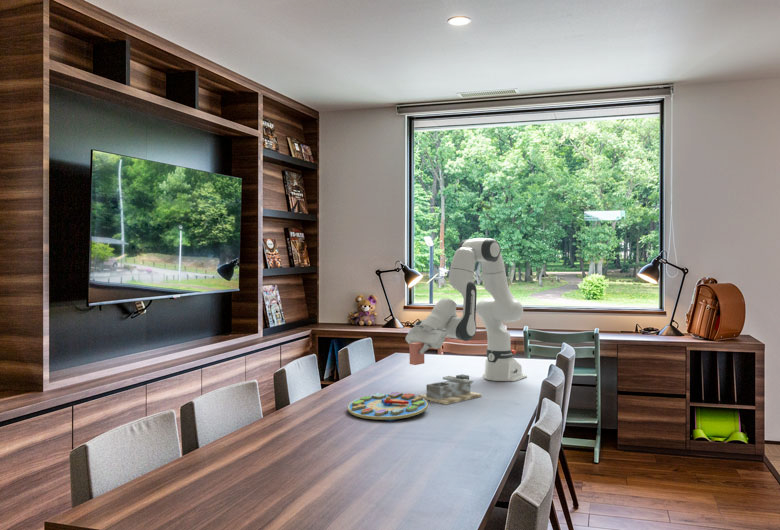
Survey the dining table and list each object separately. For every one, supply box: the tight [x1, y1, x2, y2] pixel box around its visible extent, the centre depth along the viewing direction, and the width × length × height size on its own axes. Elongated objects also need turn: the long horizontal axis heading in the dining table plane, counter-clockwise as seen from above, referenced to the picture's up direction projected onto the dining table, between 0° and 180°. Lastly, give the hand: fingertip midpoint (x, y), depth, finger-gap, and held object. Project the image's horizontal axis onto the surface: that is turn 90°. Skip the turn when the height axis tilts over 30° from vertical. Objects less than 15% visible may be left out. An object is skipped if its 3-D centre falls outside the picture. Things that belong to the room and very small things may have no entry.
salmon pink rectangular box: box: [408, 342, 425, 366], centre depth 273 cm, size 6×4×9 cm, turn 132°
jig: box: [417, 373, 482, 405], centre depth 266 cm, size 22×16×8 cm
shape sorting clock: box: [347, 391, 429, 422], centre depth 242 cm, size 31×30×6 cm
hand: (415, 352), depth 272 cm, fingers closed on salmon pink rectangular box, 4 cm apart
